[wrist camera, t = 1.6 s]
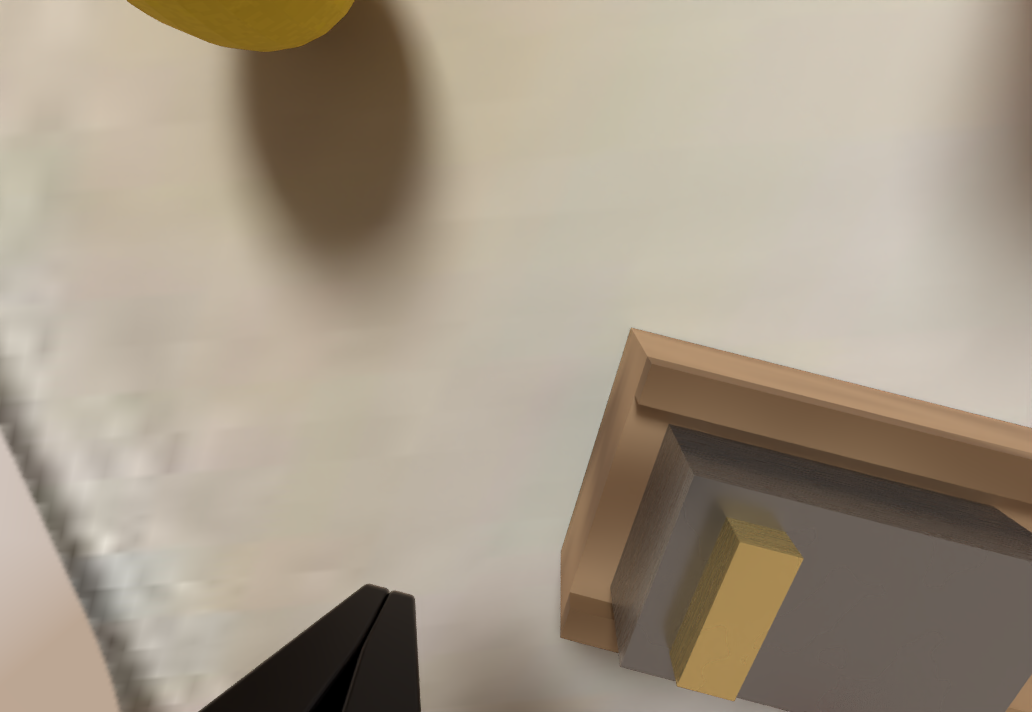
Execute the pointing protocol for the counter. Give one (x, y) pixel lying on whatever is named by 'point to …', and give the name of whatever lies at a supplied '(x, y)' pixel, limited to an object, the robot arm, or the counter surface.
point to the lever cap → (820, 586)
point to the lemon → (249, 20)
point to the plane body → (776, 426)
